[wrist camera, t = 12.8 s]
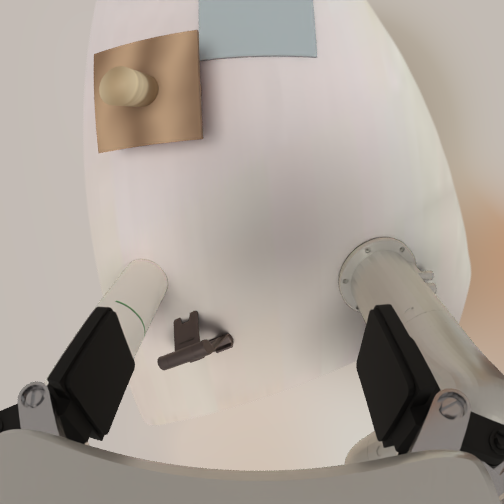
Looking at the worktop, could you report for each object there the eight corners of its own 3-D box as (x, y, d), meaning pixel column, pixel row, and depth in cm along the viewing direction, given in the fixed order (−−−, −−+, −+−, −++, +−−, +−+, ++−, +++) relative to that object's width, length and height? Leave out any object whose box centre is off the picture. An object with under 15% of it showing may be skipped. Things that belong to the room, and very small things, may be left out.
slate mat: (308, -29, 23) (308, -31, 22) (316, 57, 29) (317, 56, 28) (199, -26, 23) (198, -28, 23) (200, 60, 29) (199, 59, 29)
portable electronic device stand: (192, 355, 49) (183, 390, 41) (164, 324, 46) (150, 359, 38) (234, 338, 47) (229, 376, 39) (206, 304, 44) (197, 341, 36)
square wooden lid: (198, 32, 23) (182, 10, 17) (203, 138, 28) (187, 143, 22) (97, 55, 23) (63, 45, 17) (102, 152, 28) (68, 162, 22)
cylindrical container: (121, 258, 41) (27, 379, 18) (164, 259, 41) (86, 399, 18) (129, 298, 44) (58, 422, 21) (170, 301, 44) (114, 441, 21)
